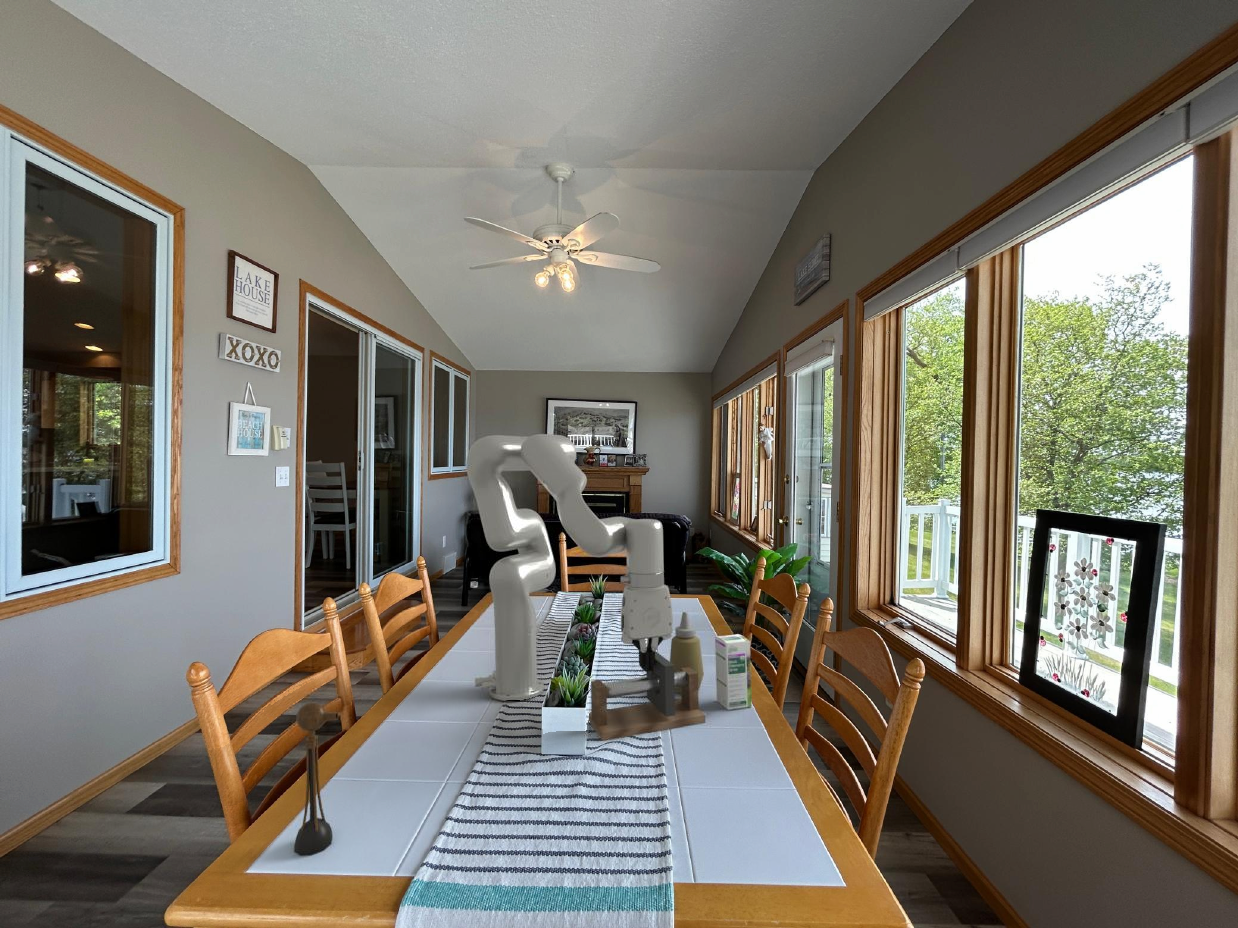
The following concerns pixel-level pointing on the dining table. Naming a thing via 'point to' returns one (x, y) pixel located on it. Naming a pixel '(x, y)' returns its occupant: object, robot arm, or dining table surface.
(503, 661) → the robot arm
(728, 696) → the syrup box
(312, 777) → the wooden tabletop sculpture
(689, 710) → the pipe stand
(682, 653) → the squeeze bottle
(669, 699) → the dark grey square plate
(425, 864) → the dining table surface
